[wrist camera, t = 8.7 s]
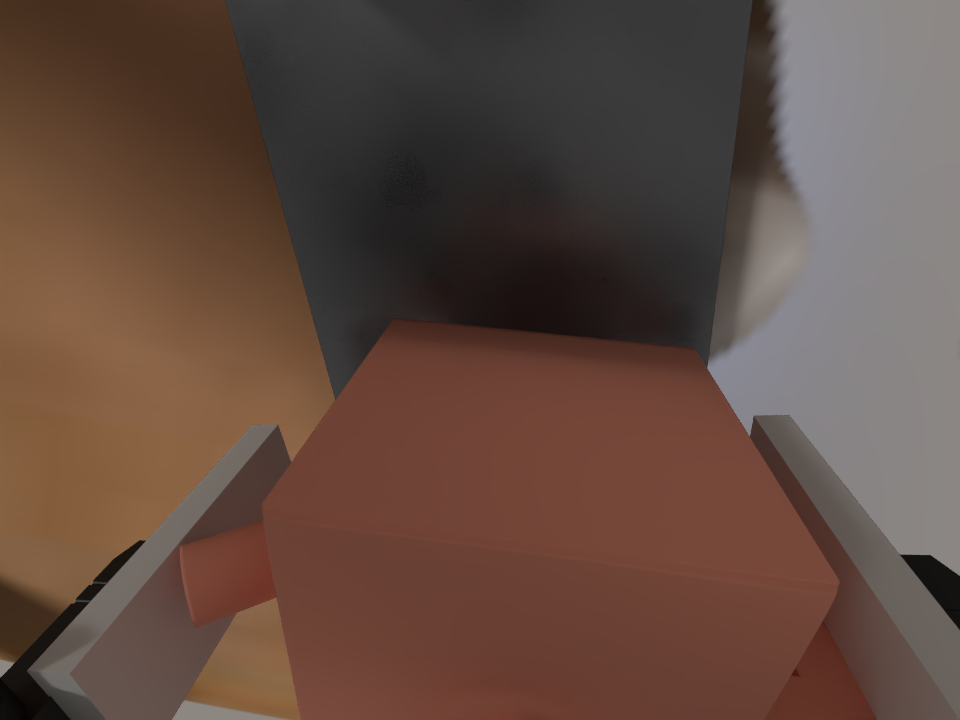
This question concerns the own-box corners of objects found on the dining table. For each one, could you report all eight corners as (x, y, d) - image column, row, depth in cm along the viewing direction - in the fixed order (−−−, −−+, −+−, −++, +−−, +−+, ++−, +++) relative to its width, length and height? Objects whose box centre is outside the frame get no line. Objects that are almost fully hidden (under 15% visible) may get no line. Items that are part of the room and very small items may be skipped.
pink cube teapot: (278, 289, 12) (-111, 556, 5) (774, 338, 11) (1187, 751, 4) (311, 516, 16) (113, 863, 9) (688, 567, 15) (824, 1003, 8)
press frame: (199, -221, 11) (-169, -568, 5) (768, -353, 9) (1129, -1089, 4) (392, 541, 22) (338, 696, 16) (672, 546, 20) (723, 722, 14)
